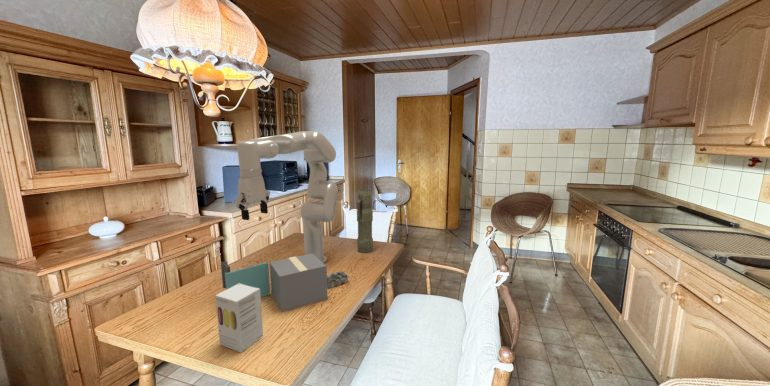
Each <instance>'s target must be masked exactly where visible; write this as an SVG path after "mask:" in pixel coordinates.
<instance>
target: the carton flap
mask: <svg viewBox="0 0 770 386" xmlns="http://www.w3.org/2000/svg"><path fill="white" fill-rule="evenodd" d="M220 267H221V268H220V269H221V278H222V288H223V289H225V290H227V289H229V288H231V287H233V286H235V285H237V284H239V283H240V284H243V285H247V286H251V287H255V288H259V289H260V295H261V298H262V297H265V296H267V295H271V282H270V268H269V262H267V261H266V262H262V263H259V264H255V265H250V266H247V267H244V268H240V269H236V270H233V271H231V267H230V265H229V264H228V261H222V262H220Z"/></svg>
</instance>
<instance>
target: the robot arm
mask: <svg viewBox="0 0 770 386" xmlns="http://www.w3.org/2000/svg"><path fill="white" fill-rule="evenodd" d="M236 147H237V157H238V164H239V174H240V177H239V178H238V182H237V183H238V185H237V188H238V189H237V190H238V191H237V192H238V193H237V194H238V196H237V197H236V198H235V199H234V204H235V205H236V208H237V209H239V211H240V212H241V219H242V220H244V221H250V213H249V209H248V208H249V205H252V204H255V203H258V202H260V203H259V208H260V213H261V214H269V210H268V209H269V208H268V204H269V200H270V195H271V191H270V190H267V189H266V185H265V180H264V177H263V176H264V175H262V172H263V170H262V166H261V159H274V158H275V157H276V156H278V155H286V154H292V153H296V152H299V151H303V157H304V159H305V160H306V161H307V164H308V167H309V178H308V184H307V191H306V194H307V196H308V198H310V199H311V200H312V199H313V200H321V201H305V202H304V203H302V205H301V207H300V215H301V219H302V224H303V225H302V226H303V227H302V229H303V244H304V245H303V246H304V247H303V248H304V255H307V254H312V253H313V254H314V255H315V256H316V257H317V258H318V259H319V260H320V261H321V262H323V263H324V264H325V263H326V262H327V261H328V260H327V259H328V258H327V257H326V256H325V254H324V234H323V233H324V232H323V231H324V229H323V224H322V223H330V222H332V221H333V219H334V218H335V215H336V209H337V203H338V198H339V197H338V196H339V189H338V188H339V187H338V185H337V184H336V183H335V182H333V181H327V177H328V170H327V167H326V166H325V164H324V163H327V164H328V163H332V162H334V161H335V160H336V157H337V151H336V148H335V147H334V146H333V144H332V143H331V142H330V141H329V139H328V138H327V136H325V135H324V134H323V133H322V132H320V131H317V130H308V131H307V130H304V131H302V130H301V131H296V132H295V131H294V132H290V133H285V134H277V135H272V136H263V137H256V138H252V139H247V140H243V141H242V140H241V141H238V142H237V145H236Z"/></svg>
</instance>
